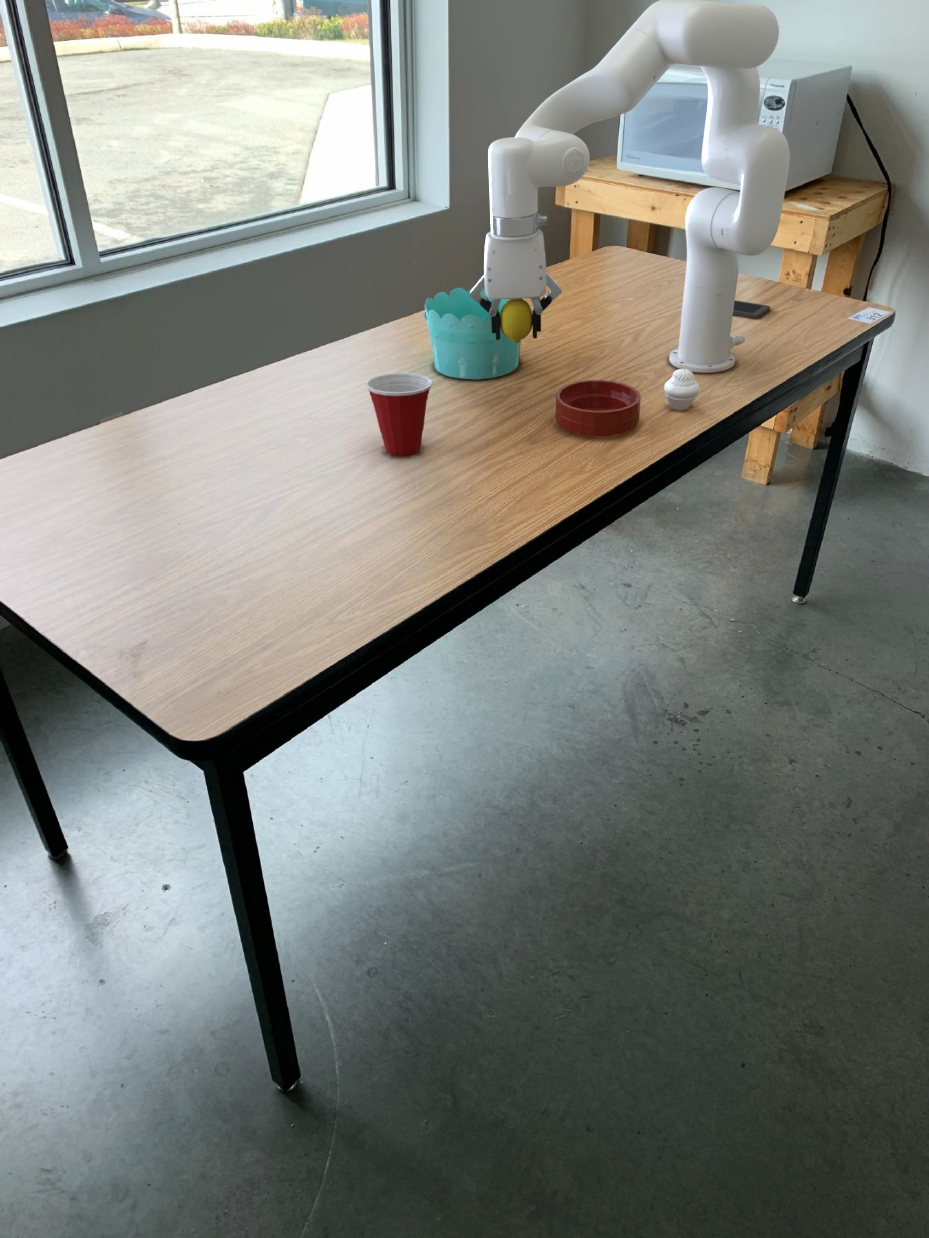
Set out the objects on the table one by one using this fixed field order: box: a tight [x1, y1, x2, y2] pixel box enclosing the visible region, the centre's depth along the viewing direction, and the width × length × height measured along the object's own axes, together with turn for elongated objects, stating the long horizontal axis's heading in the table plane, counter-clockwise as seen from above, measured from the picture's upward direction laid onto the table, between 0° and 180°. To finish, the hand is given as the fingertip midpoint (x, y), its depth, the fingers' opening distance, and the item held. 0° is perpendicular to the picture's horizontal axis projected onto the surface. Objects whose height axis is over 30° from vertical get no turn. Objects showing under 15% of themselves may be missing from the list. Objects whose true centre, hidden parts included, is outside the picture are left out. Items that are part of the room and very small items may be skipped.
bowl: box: [555, 379, 642, 438], centre depth 167 cm, size 14×14×5 cm
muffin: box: [663, 368, 700, 411], centre depth 171 cm, size 6×6×7 cm
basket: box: [423, 287, 525, 381], centre depth 189 cm, size 19×18×13 cm
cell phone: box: [733, 299, 771, 319], centre depth 215 cm, size 7×14×1 cm, turn 55°
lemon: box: [500, 299, 533, 343], centre depth 163 cm, size 6×6×8 cm
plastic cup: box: [364, 372, 434, 458], centre depth 158 cm, size 11×11×12 cm
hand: (516, 335), depth 164 cm, fingers closed on lemon, 5 cm apart
